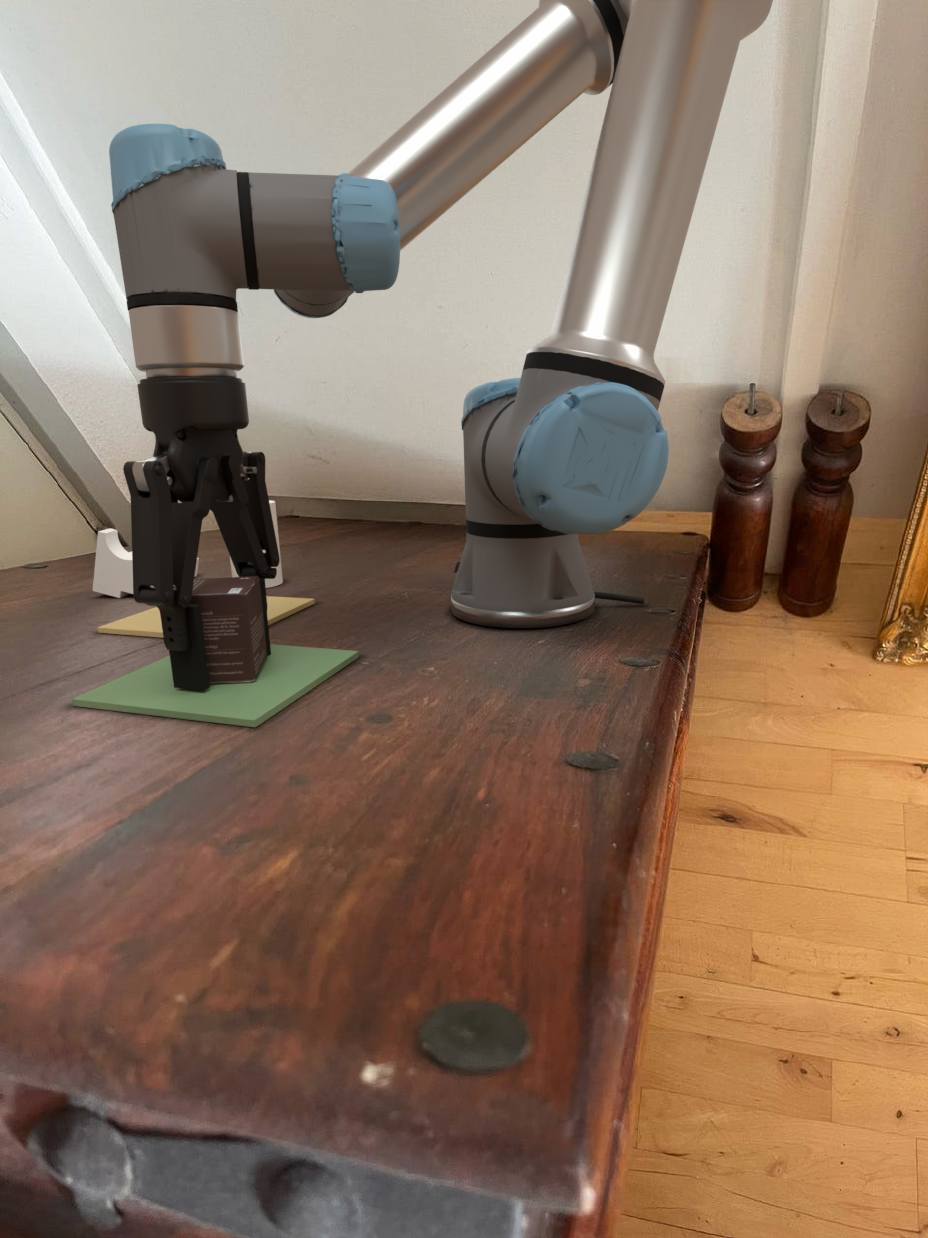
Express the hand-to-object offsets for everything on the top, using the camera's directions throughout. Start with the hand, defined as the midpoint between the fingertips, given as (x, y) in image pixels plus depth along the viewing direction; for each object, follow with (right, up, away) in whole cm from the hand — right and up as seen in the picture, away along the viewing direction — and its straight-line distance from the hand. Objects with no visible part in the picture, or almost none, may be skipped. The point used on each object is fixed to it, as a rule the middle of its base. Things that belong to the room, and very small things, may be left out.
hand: (225, 669), depth 61 cm
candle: (-8, +8, +36) cm, 38 cm away
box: (0, 0, 0) cm, 0 cm away
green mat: (0, -1, 0) cm, 1 cm away
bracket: (-21, +8, +37) cm, 43 cm away
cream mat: (-8, +4, +20) cm, 22 cm away
